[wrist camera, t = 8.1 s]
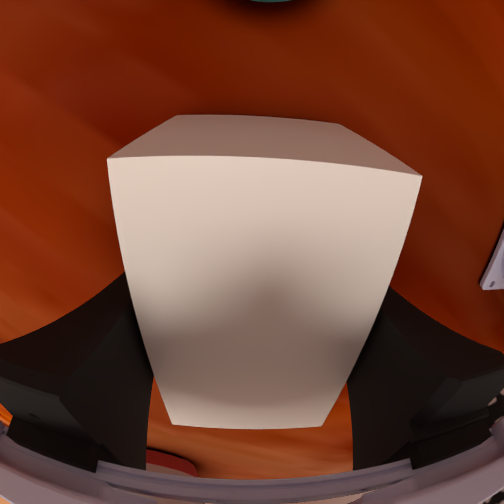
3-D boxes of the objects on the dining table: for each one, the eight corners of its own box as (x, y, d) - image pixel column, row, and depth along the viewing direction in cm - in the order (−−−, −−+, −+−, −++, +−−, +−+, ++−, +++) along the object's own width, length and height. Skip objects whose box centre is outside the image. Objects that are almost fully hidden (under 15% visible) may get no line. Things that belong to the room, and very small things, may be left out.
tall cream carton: (339, 124, 10) (422, 175, 5) (303, 323, 15) (321, 425, 10) (176, 115, 10) (106, 158, 5) (189, 320, 15) (172, 424, 10)
